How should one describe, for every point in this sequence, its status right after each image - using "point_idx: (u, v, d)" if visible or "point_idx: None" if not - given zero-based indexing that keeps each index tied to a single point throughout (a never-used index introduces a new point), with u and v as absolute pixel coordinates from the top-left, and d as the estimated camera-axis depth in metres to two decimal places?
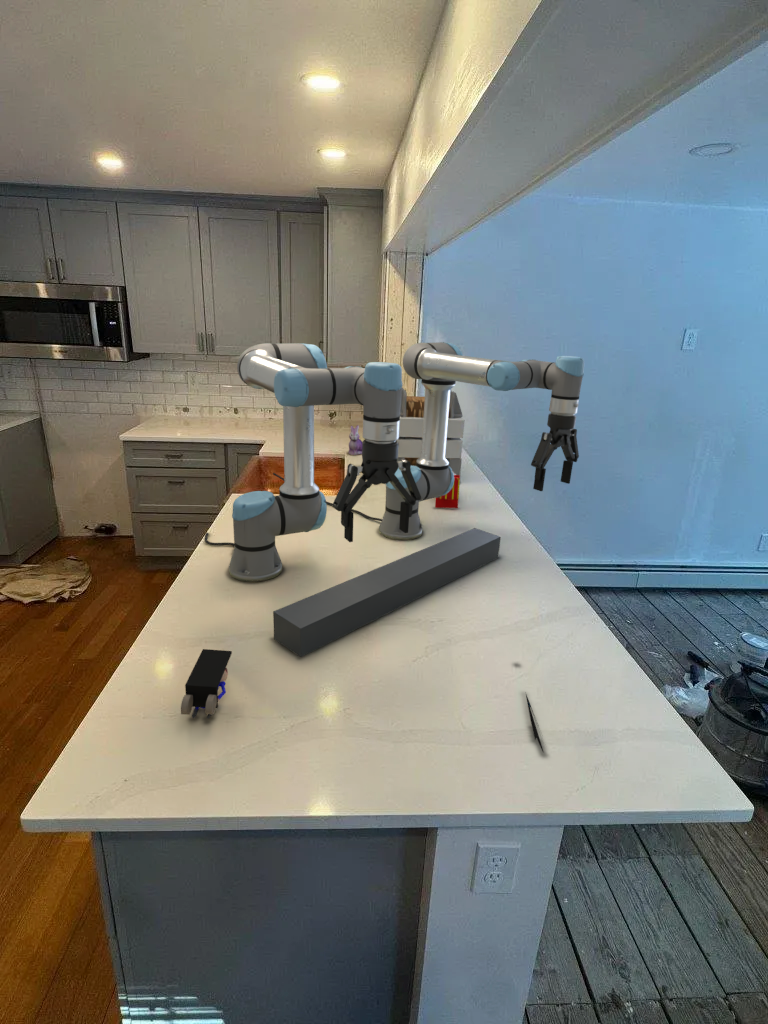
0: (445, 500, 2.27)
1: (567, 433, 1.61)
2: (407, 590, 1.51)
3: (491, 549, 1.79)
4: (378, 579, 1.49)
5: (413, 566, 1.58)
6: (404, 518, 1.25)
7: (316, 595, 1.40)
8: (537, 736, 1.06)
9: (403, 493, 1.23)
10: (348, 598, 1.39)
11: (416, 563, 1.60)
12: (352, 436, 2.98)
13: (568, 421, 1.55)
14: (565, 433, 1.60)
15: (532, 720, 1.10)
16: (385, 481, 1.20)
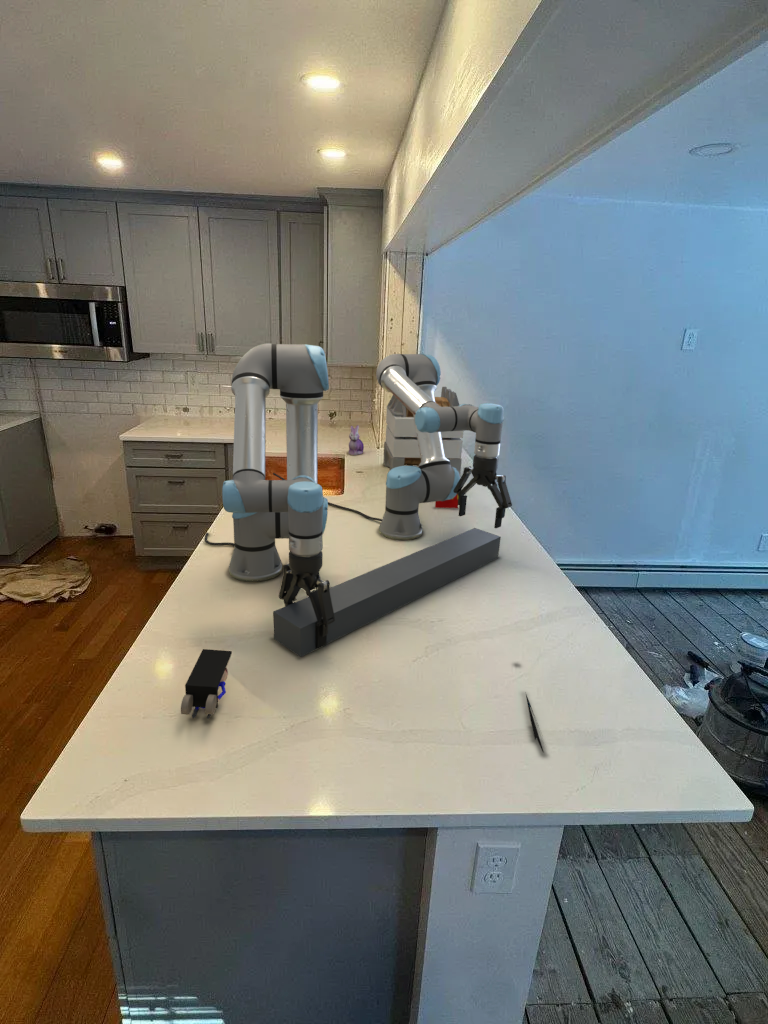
0: (445, 500, 2.27)
1: (488, 476, 1.72)
2: (407, 590, 1.51)
3: (491, 549, 1.79)
4: (378, 579, 1.49)
5: (413, 566, 1.58)
6: None
7: None
8: (537, 736, 1.06)
9: (314, 609, 1.28)
10: (348, 598, 1.39)
11: (416, 563, 1.60)
12: (352, 436, 2.98)
13: (474, 461, 1.71)
14: (485, 474, 1.72)
15: (532, 720, 1.10)
16: (304, 588, 1.29)
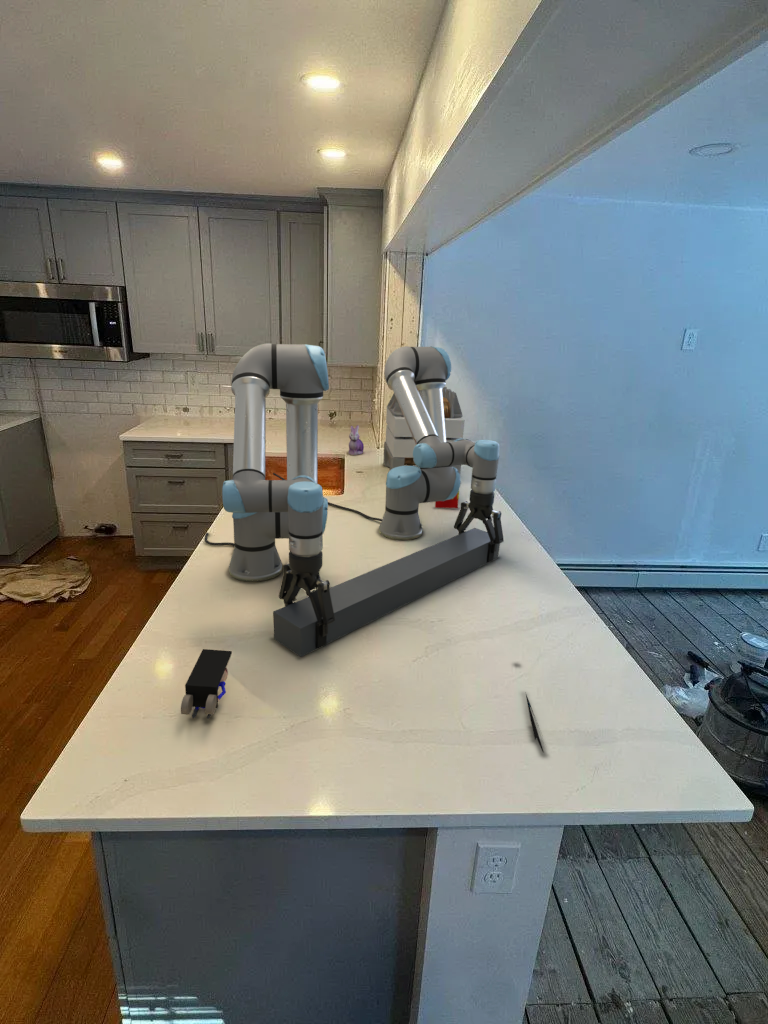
0: (445, 500, 2.27)
1: (484, 509, 1.75)
2: (407, 590, 1.51)
3: None
4: (378, 579, 1.49)
5: (413, 566, 1.58)
6: None
7: None
8: (537, 736, 1.06)
9: (314, 609, 1.28)
10: (348, 598, 1.39)
11: (416, 563, 1.60)
12: (352, 436, 2.98)
13: (471, 495, 1.75)
14: (482, 509, 1.76)
15: (532, 720, 1.10)
16: (304, 588, 1.29)
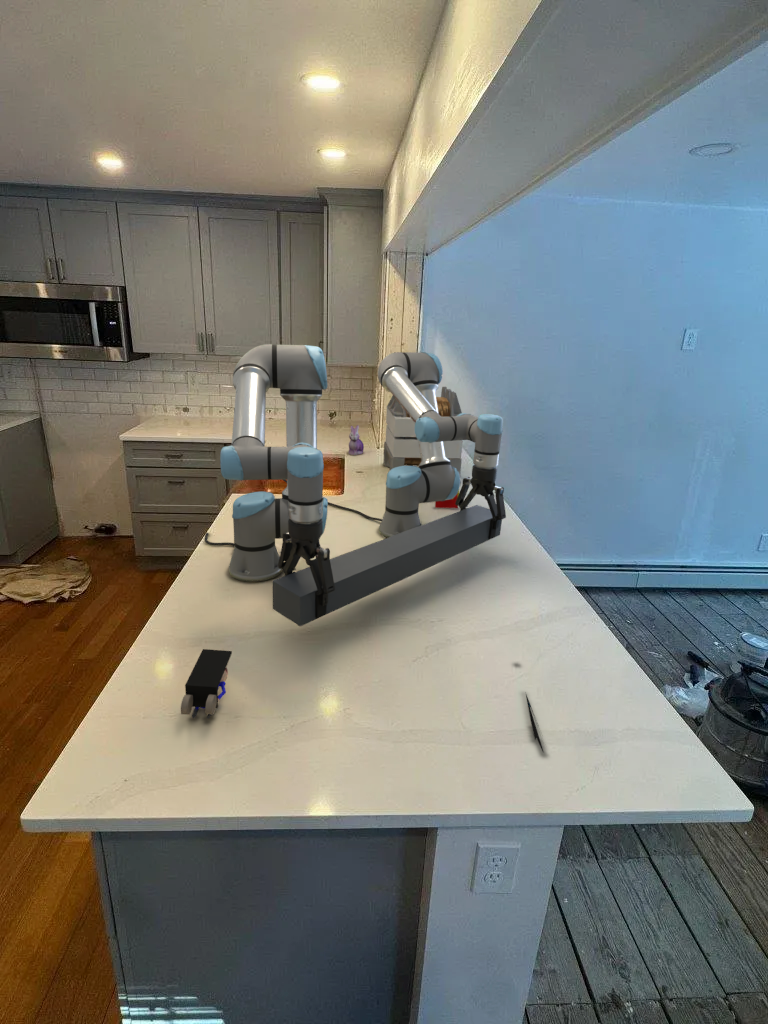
0: (445, 500, 2.27)
1: (487, 485, 1.73)
2: (408, 563, 1.49)
3: None
4: (378, 551, 1.47)
5: (414, 540, 1.55)
6: None
7: None
8: (537, 736, 1.06)
9: (314, 578, 1.25)
10: (348, 569, 1.37)
11: (418, 537, 1.57)
12: (352, 436, 2.98)
13: (473, 471, 1.72)
14: (484, 484, 1.74)
15: (532, 720, 1.10)
16: None
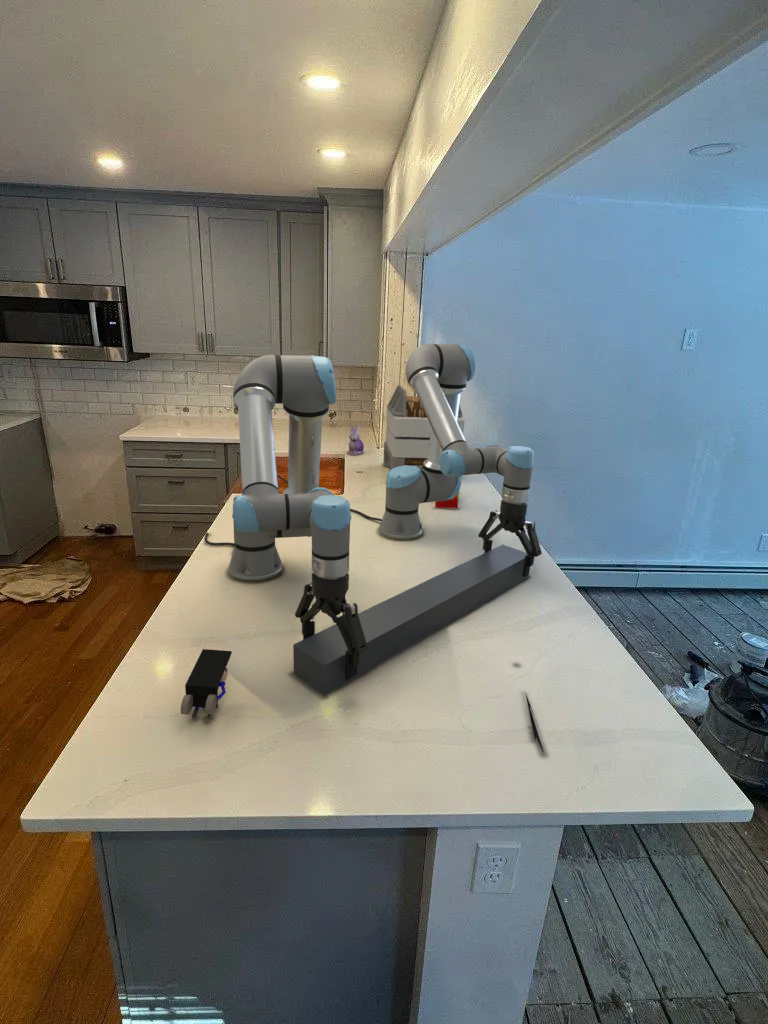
0: (445, 500, 2.27)
1: (516, 522, 1.62)
2: (436, 616, 1.39)
3: (522, 568, 1.67)
4: (405, 605, 1.37)
5: (441, 590, 1.45)
6: None
7: None
8: (537, 736, 1.06)
9: (343, 636, 1.14)
10: (374, 628, 1.26)
11: (445, 586, 1.47)
12: (352, 436, 2.98)
13: (502, 506, 1.62)
14: (513, 520, 1.63)
15: (532, 720, 1.10)
16: (329, 614, 1.16)
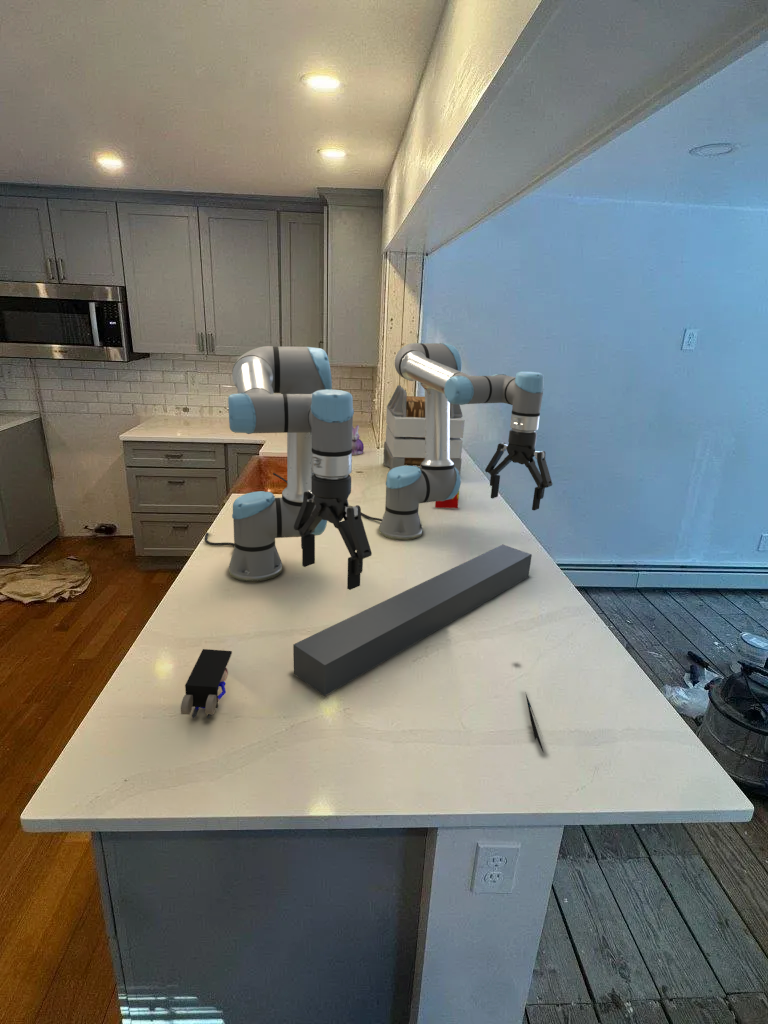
0: (445, 500, 2.27)
1: (525, 452, 1.55)
2: (436, 616, 1.39)
3: (522, 568, 1.67)
4: (405, 605, 1.37)
5: (441, 590, 1.45)
6: None
7: (339, 624, 1.27)
8: (537, 736, 1.06)
9: (345, 542, 1.07)
10: (374, 628, 1.26)
11: (445, 586, 1.47)
12: (352, 436, 2.98)
13: (510, 435, 1.55)
14: (522, 451, 1.56)
15: (532, 720, 1.10)
16: (330, 520, 1.09)
